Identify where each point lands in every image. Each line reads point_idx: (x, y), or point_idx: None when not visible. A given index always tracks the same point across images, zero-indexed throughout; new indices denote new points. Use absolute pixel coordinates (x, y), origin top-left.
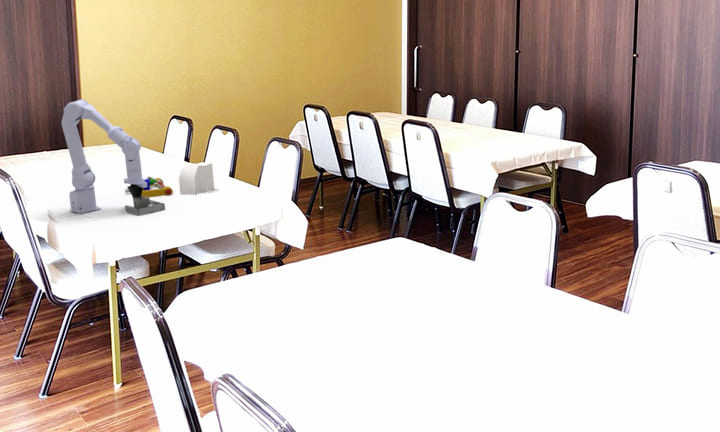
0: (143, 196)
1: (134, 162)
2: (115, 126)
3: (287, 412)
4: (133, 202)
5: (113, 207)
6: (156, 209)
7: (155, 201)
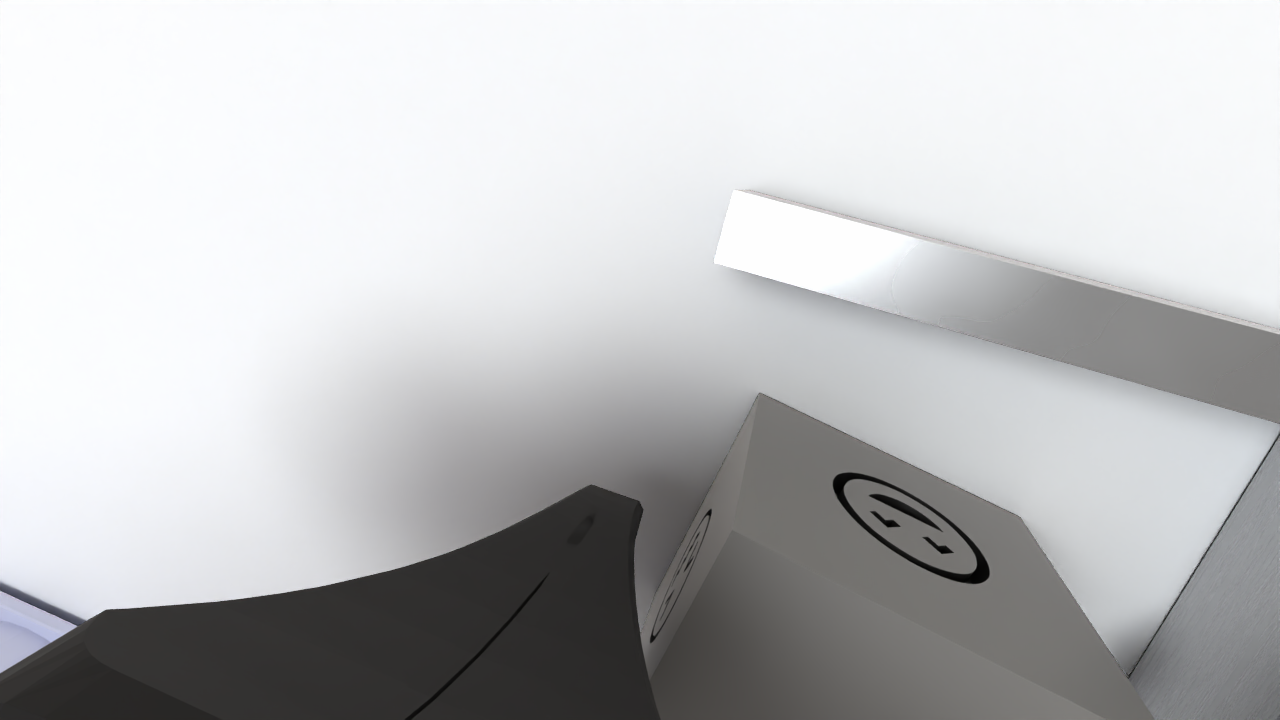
0: (738, 598)
1: None
2: None
3: None
4: None
5: (197, 519)
6: None
7: (1013, 293)
